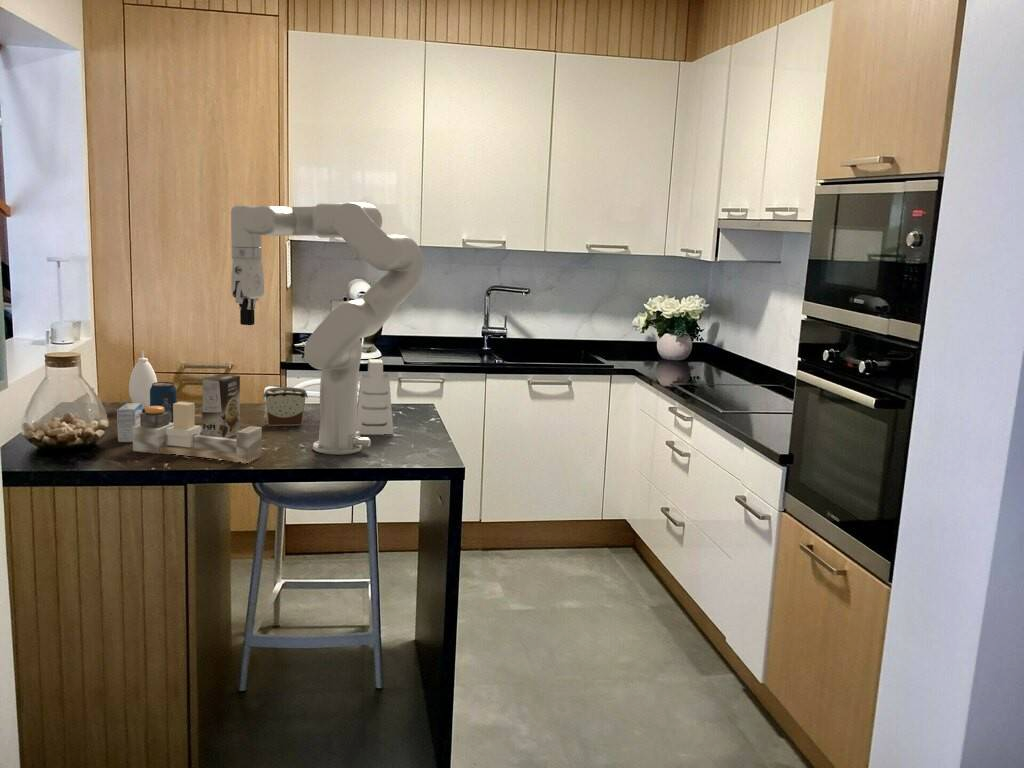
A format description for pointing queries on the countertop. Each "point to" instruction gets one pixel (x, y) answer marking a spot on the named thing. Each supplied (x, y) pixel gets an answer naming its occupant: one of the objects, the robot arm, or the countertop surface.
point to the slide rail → (196, 441)
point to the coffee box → (221, 406)
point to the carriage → (183, 425)
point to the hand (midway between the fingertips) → (247, 324)
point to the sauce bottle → (141, 382)
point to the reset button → (154, 410)
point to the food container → (285, 405)
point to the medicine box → (128, 420)
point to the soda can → (164, 396)
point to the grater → (374, 401)
